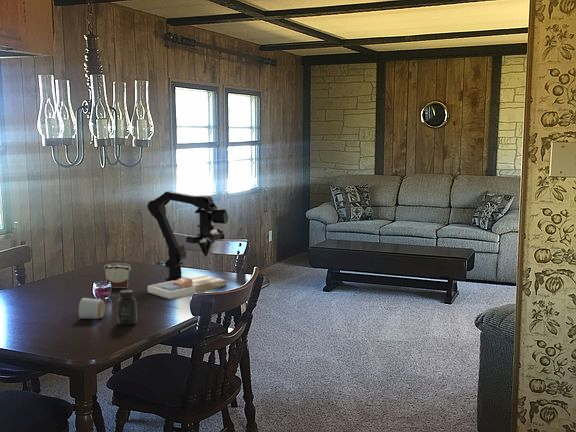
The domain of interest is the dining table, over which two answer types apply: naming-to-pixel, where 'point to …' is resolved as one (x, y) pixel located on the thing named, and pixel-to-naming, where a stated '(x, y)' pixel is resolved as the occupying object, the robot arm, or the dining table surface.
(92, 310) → the white cylinder
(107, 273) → the food container
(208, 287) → the birch plate
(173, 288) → the slate tile
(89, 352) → the dining table surface
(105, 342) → the dining table surface
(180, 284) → the terracotta tile
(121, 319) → the supplement bottle
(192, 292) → the box
